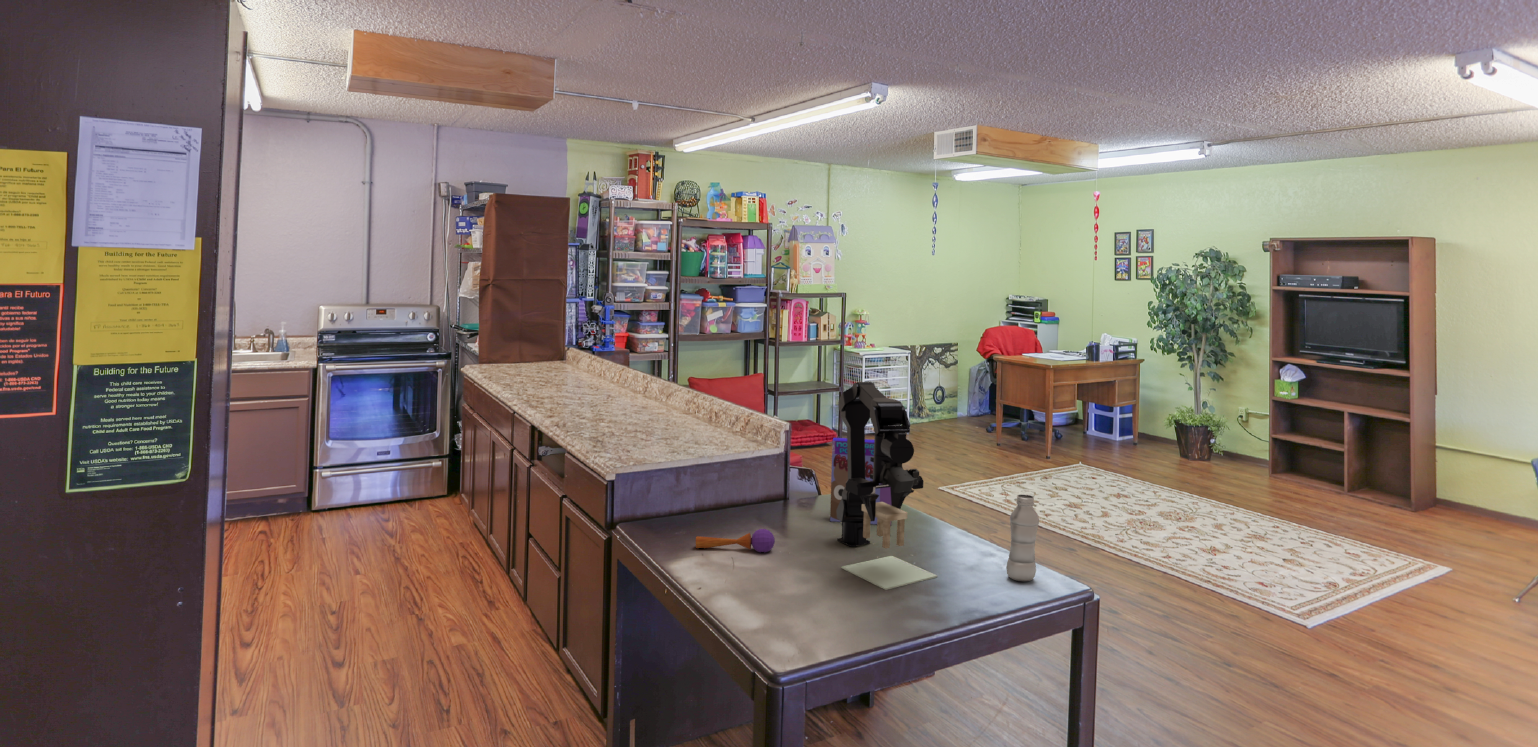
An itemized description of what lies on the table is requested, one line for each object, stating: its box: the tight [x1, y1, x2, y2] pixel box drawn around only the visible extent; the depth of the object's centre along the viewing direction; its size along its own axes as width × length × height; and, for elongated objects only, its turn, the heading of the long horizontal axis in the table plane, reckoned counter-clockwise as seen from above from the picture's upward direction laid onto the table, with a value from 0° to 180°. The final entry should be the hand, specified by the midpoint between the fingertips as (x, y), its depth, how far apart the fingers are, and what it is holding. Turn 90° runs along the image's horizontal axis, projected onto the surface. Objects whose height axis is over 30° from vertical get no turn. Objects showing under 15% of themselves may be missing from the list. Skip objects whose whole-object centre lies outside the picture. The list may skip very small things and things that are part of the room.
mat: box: [841, 555, 938, 591], centre depth 191 cm, size 16×16×1 cm
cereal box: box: [829, 437, 892, 527], centre depth 231 cm, size 17×5×24 cm, turn 81°
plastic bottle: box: [1005, 493, 1040, 582], centre depth 187 cm, size 6×7×20 cm
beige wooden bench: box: [862, 502, 908, 549], centre depth 189 cm, size 6×10×8 cm, turn 27°
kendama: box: [695, 528, 776, 553], centre depth 205 cm, size 6×6×20 cm
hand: (883, 519), depth 189 cm, fingers closed on beige wooden bench, 6 cm apart
